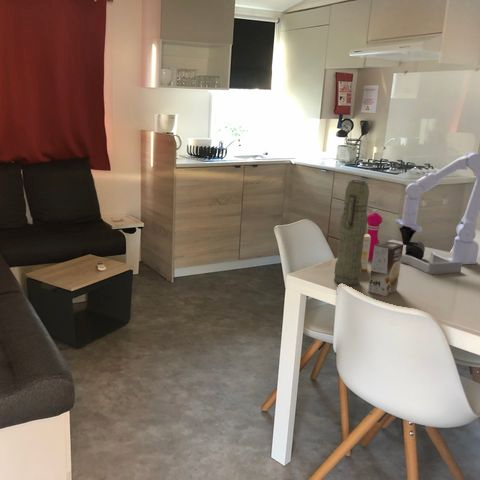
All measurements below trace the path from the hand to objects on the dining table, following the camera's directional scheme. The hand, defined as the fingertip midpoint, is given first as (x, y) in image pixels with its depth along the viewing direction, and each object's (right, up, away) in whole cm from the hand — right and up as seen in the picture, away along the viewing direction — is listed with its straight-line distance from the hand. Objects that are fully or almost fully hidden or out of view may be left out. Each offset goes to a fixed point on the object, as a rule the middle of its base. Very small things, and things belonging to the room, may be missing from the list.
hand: (405, 244), depth 224 cm
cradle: (+6, -8, -13) cm, 17 cm away
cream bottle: (-26, -9, -21) cm, 35 cm away
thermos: (-32, -13, -38) cm, 51 cm away
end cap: (+2, -6, -5) cm, 8 cm away
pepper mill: (-17, -5, -6) cm, 19 cm away
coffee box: (-21, -15, -45) cm, 52 cm away
